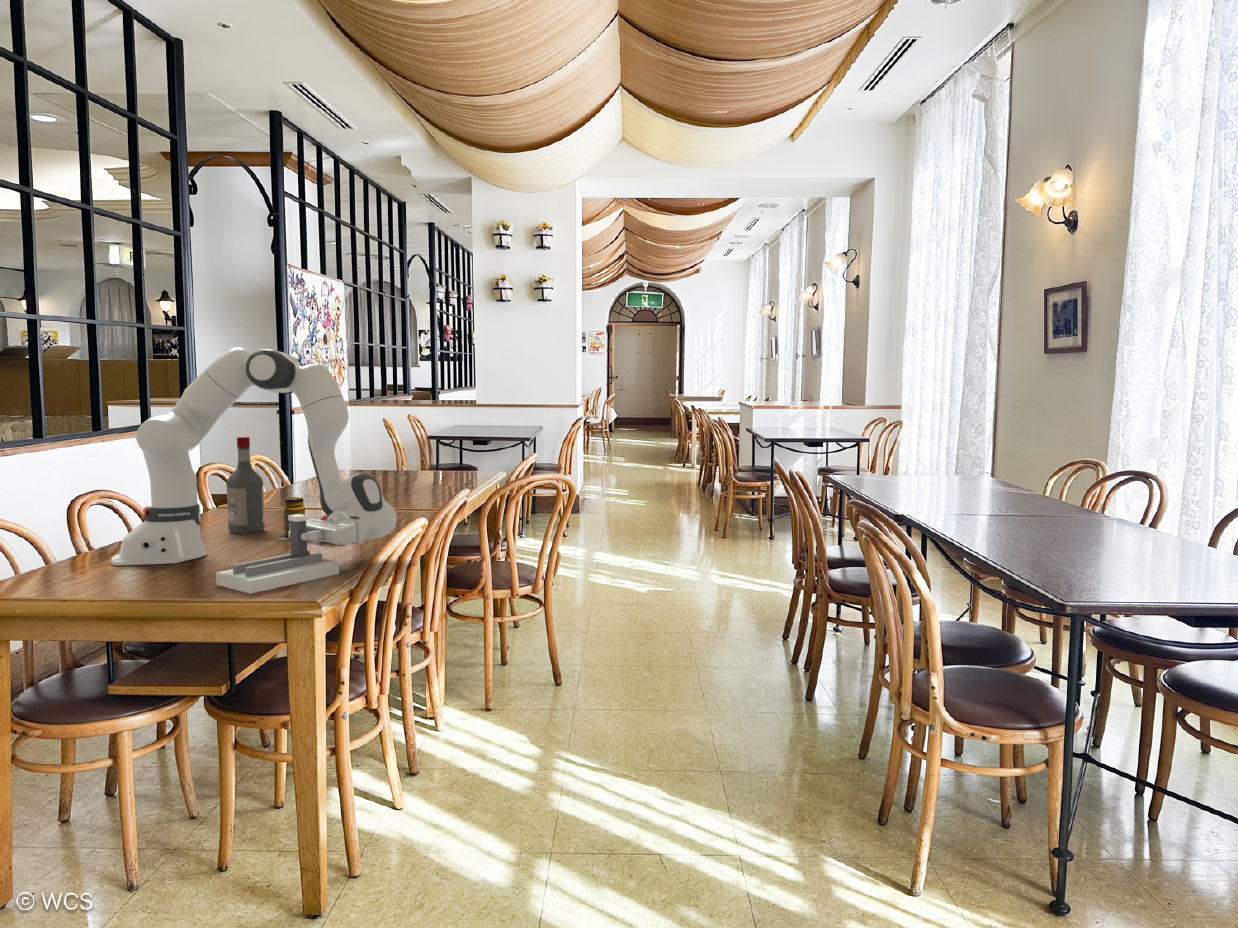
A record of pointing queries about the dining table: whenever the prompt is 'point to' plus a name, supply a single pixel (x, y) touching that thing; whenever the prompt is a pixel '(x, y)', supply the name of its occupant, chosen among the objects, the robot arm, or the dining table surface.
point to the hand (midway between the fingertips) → (295, 535)
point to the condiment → (291, 513)
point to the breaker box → (276, 572)
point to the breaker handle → (297, 535)
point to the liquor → (245, 494)
